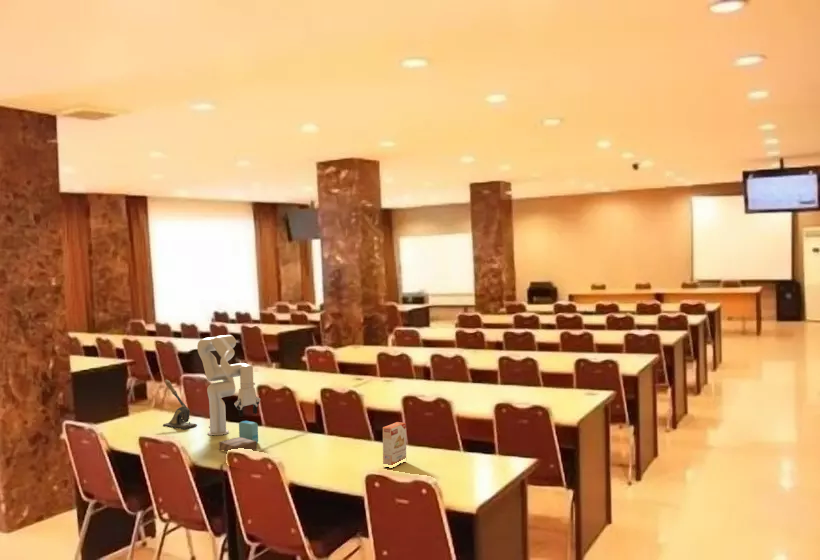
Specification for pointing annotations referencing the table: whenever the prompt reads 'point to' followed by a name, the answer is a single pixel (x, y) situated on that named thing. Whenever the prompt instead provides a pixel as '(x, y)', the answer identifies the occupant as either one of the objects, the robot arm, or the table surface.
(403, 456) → the cracker box
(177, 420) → the embossing press
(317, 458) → the table surface
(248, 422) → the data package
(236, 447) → the walnut block
